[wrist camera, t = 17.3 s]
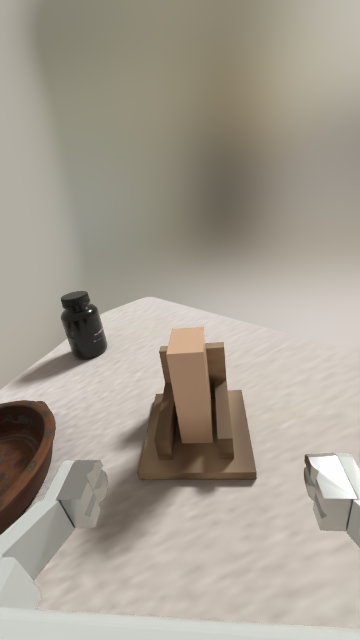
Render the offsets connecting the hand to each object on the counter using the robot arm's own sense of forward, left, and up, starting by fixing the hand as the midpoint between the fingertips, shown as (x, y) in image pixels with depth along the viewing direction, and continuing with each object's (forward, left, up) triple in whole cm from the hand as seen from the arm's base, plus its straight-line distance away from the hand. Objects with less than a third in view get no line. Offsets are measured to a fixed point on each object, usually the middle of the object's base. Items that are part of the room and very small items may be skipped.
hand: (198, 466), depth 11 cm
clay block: (+2, -17, -16) cm, 23 cm away
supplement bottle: (+24, -38, -17) cm, 48 cm away
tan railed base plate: (+2, -17, -17) cm, 24 cm away
